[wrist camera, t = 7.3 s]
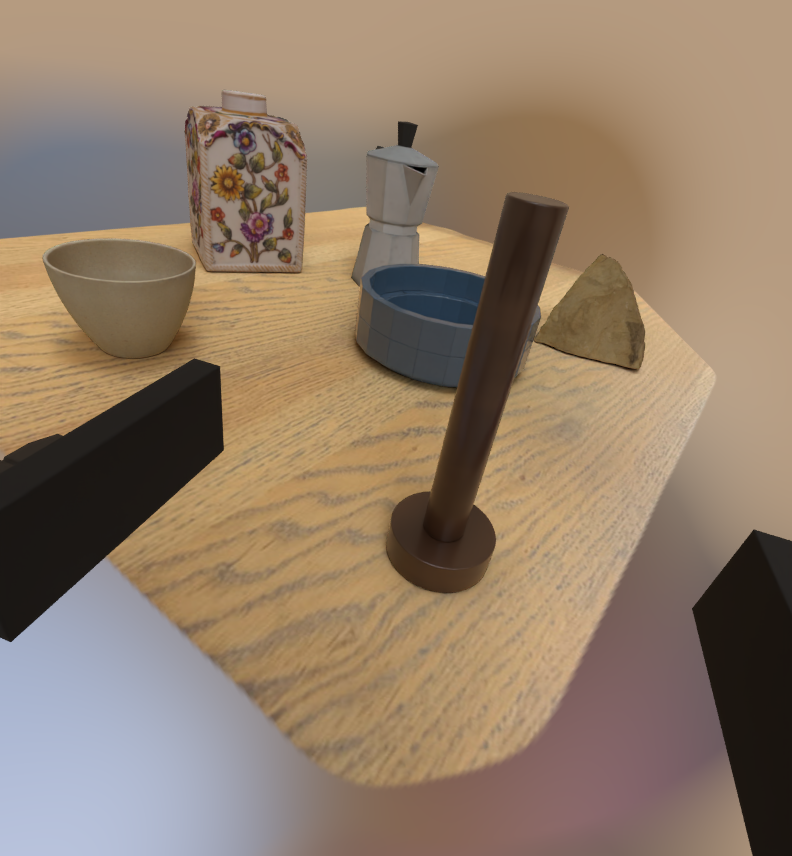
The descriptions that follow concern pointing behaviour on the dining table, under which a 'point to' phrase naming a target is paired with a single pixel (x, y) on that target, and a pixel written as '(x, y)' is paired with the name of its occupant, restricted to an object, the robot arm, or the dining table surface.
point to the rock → (598, 318)
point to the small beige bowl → (123, 291)
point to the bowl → (422, 320)
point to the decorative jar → (245, 186)
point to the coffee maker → (394, 203)
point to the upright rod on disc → (478, 406)
